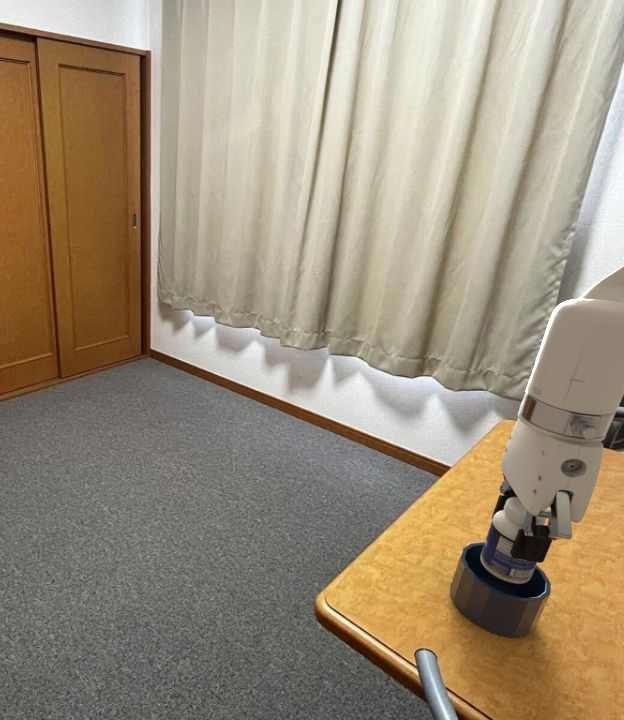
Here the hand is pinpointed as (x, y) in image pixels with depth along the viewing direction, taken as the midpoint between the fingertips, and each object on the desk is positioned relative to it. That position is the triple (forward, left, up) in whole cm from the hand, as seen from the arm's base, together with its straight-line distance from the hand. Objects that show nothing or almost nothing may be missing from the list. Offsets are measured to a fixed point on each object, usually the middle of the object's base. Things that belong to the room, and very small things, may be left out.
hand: (515, 538), depth 59 cm
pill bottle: (0, 0, -5) cm, 5 cm away
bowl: (0, 0, -12) cm, 12 cm away
